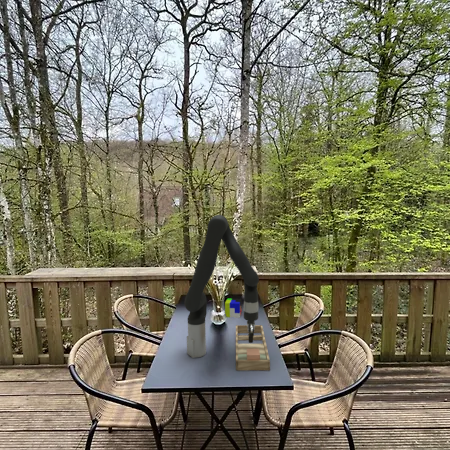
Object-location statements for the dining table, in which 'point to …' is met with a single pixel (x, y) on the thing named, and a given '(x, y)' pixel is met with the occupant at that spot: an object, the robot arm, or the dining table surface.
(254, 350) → the block
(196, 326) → the robot arm
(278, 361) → the dining table surface
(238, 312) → the puzzle toy
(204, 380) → the dining table surface
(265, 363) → the trap lane
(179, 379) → the dining table surface
